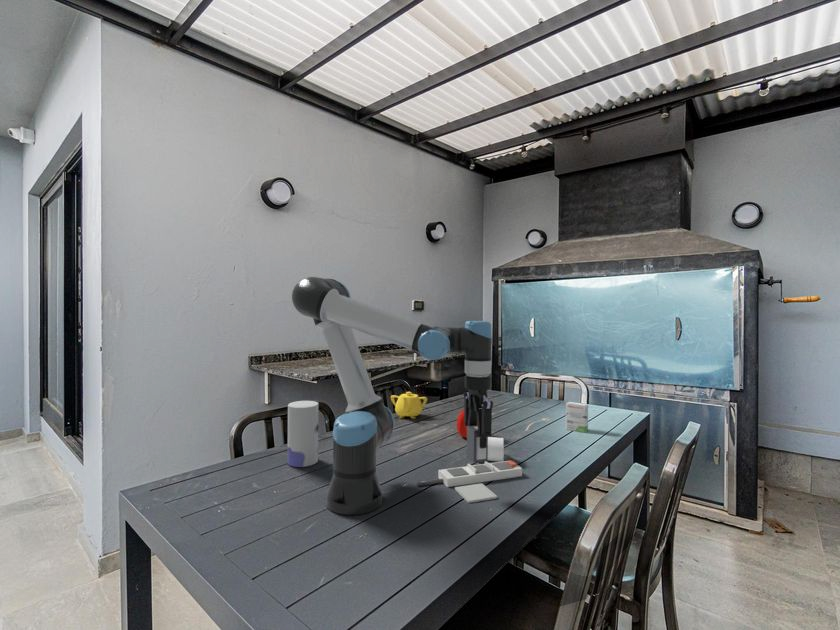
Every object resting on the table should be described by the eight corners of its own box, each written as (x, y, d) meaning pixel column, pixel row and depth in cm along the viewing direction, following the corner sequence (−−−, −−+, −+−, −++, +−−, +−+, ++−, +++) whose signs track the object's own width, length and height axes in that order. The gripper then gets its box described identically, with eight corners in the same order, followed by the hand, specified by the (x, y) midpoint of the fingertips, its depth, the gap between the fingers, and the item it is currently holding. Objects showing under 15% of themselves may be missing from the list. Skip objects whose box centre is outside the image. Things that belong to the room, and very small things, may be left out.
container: (323, 461, 143) (324, 403, 142) (297, 470, 135) (298, 408, 135) (307, 454, 150) (308, 398, 149) (281, 461, 142) (282, 403, 142)
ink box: (588, 430, 184) (588, 403, 184) (585, 433, 180) (586, 405, 180) (568, 426, 189) (568, 401, 189) (565, 429, 185) (565, 403, 185)
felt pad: (468, 503, 115) (468, 500, 115) (454, 489, 123) (454, 487, 123) (497, 498, 118) (497, 496, 118) (481, 485, 126) (481, 483, 126)
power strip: (420, 491, 121) (420, 478, 121) (412, 481, 128) (412, 469, 128) (522, 476, 133) (522, 464, 133) (510, 467, 140) (510, 457, 140)
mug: (503, 465, 142) (503, 442, 142) (473, 462, 144) (474, 440, 144) (503, 453, 154) (503, 431, 154) (476, 451, 156) (476, 429, 156)
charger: (473, 462, 117) (474, 430, 117) (466, 457, 121) (467, 426, 121) (487, 460, 119) (487, 428, 119) (480, 455, 123) (480, 424, 123)
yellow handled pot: (387, 415, 203) (387, 391, 203) (411, 411, 212) (411, 388, 212) (403, 422, 192) (404, 396, 192) (428, 417, 201) (428, 393, 201)
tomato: (495, 438, 170) (495, 413, 170) (470, 444, 163) (471, 417, 163) (473, 430, 182) (473, 406, 181) (449, 435, 174) (449, 410, 174)
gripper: (505, 379, 113) (504, 465, 113) (475, 369, 129) (474, 444, 130) (480, 380, 110) (479, 468, 111) (453, 370, 126) (452, 447, 127)
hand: (476, 455), depth 120 cm, fingers closed on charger, 4 cm apart
